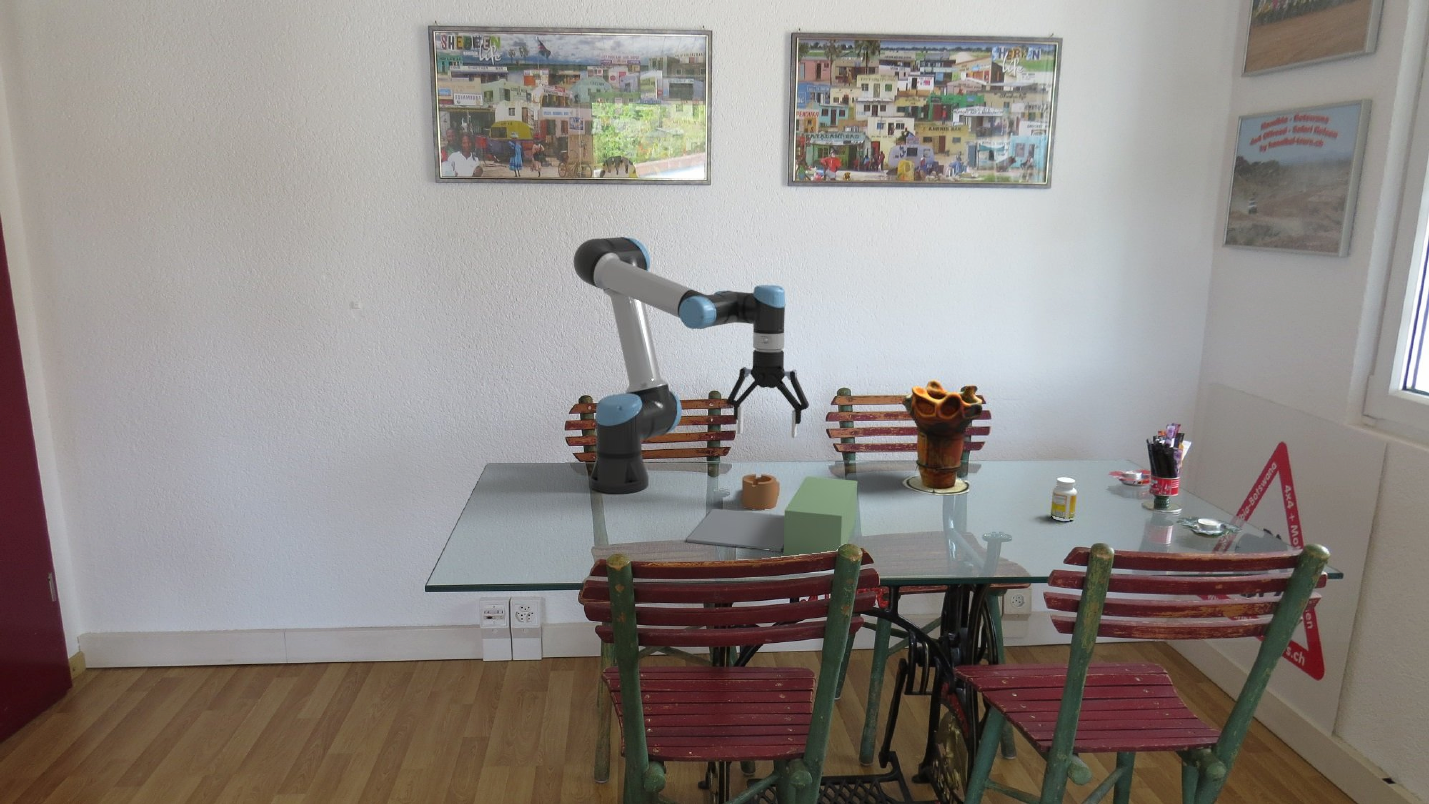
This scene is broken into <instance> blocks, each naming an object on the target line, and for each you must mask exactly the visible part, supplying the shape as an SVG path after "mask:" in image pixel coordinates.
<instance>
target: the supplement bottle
mask: <svg viewBox="0 0 1429 804" xmlns="http://www.w3.org/2000/svg"><path fill="white" fill-rule="evenodd" d="M1075 486H1076V480H1075V479H1073V478H1072V477H1071V478H1070V477H1057V479H1056V486H1054V487H1053V489H1052V498H1051V508H1050V516H1051V515H1052V516H1055V517H1059V518H1063V519H1070V518H1073V517H1074V518H1075V515H1076V514H1075V513H1076V506H1077V505H1076V504H1077V495H1078V491H1077V489H1075Z"/></svg>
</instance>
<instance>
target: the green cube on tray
mask: <svg viewBox="0 0 1429 804" xmlns="http://www.w3.org/2000/svg"><path fill="white" fill-rule="evenodd" d="M857 496H858V480H853V479H851V480H849V479H840V478H839V479H838V478H828V477H815V476H806V477H804V480H803V481H802V483H801V484H800V486H799V488H798V489H797V491H796V492H795V493H794V495H793V496H792V498H791V500H790V502H789V503H788V504H787V506H786V507H785V509H784V515H783V514H772V513H761V512H752V511H751V512H750V511H742V510H741V511H740V510H730V509H721V508H720V509H719V508H713V509H712V510H711V511H710V512H709V513H708V514H707V516H705V518H703V520H702V521H701V522H700V523H699V524H698V526H697V527H696V528H695V529H694V530H693V531H692V533H690V535H689V536H688V537H687V538H686V542H687V543H693V544H702V545H703V544H704V545H712V546H713V545H715V546H722V547H732V546H734V548H736V547H735V546H738V547H737V548H740V547H748V548H747V549H750V548H758V549H757V550H759V549H769V550H772V552H778V551H779V552H778V553H780V552H782V551H783V556H785V557H790V556H789V555H799V554H812V553H821V552H827V551H836V550H837V549H839V546H841V545H842V544H845V543H847V544H848V543H849V540H850V537H851V535H852V533H853V530H854V527H855V526H856V520H857V499H858V498H857ZM732 548H733V547H732ZM769 550H768V551H769Z"/></svg>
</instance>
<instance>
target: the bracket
mask: <svg viewBox="0 0 1429 804" xmlns="http://www.w3.org/2000/svg"><path fill="white" fill-rule="evenodd" d="M741 482H742V483H741V486H742V487H741V490H742V491H741V506H742V507H743V508H744V507H745V508H744V509H747V508H748V509H747V510H750V509H755V510H754V511H766V510H765V509H770V510H772V508H773V509H774V507H775V508H776V506H777V503H778V500H779V497H780V482H779V481H777V477H775V476H774V475H770V474H764V473H761V474H760V477H759V476H758V477H757V474H756V473H753V474H752V473H751V474H747V475H744V476H743V477H742V481H741ZM778 496H779V497H778ZM777 499H778V500H777Z"/></svg>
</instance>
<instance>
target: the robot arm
mask: <svg viewBox="0 0 1429 804" xmlns="http://www.w3.org/2000/svg"><path fill="white" fill-rule="evenodd" d="M650 266H651V260H650V255H649V252H648V250H647V248H646V246H645V245H644V244H643V243H641V242H640V241H639V240H638V239H635V238H632V237H625V236H619V237H606V238H591V239H587V240H585V241H584V242H582V243H581V244H580V245H579V247H577V249H576V251H575V253H574V256H573V268H574V271H575V273H576V275H577V276H578V277H579V278H580V279H581V280H582V282H585V283H586V284H589V285H590V286H593V287H595V288H597V289H600V290H602V291H603V293H604V294H606V295H607V296H608V297H610V301H611V305H612V310H613V315H614V319H615V323H616V328H617V333H618V337H619V342H620V347H621V352H622V355H623V360H624V365H625V369H626V370H625V371H626V374H627V379H628V384H629V385H628V387H627V389H626V390H625V392H623V393H618V394H611V395H608V396H605V397H603V398H601V399H600V400H599V401H598V402H597V404H596V409H595V412H596V413H595V416H594V418H595V436H596V437H595V438H596V439H595V443H596V458H595V462H594V465H593V468H592V472H591V475H590V481H589V483H590V488H591V489H593V491H597V492H600V493H605V494H631V493H636V492H640V491H643V490H645V489H647V488H648V487H649V475H648V472H647V469H646V465H645V463H644V460H643V459H644V458H643V456H642V455H643V453H642V450H643V449H642V448H643V447H642V444H643V443H642V442H643V441H646V440H648V439H652V438H656V437H660V436H664V435H666V434H668V433H671V432H672V431H674V430H675V429H676V428H677V426H678V425H679V423H680V421H681V418H682V413H683V410H682V403H681V400H680V399H679V397H678V396H677V395H676V394H675V392H673V391H671V390H670V388H669V383H668V382H667V381H666V380H664V379H663V378H662V376H661V373H660V368H659V363H658V359H657V354H656V349H655V344H654V341H653V335H652V332H651V331H652V330H651V327H650V323H649V322H650V321H649V318H648V312H647V308H646V305H648V306H650V307H653V308H655V309H658V310H660V311H662V312H665V313H667V314H670V315H671V316H674V317H676V318H678V319H680V321H681V322H682V324H683V325H684V326H685V327H686V328H688V329H691V330H696V329H697V330H703V329H704V330H705V329H708V328H711V327H715V326H722V325H727V324H733V323H738V324H739V323H740V324H749V325H753V326H752V327H753V332H752V335H753V336H752V339H753V340H752V341H753V342H752V347H753V349H754V350H753V351H752V368H747V367H745V366H743V367H741V368H740V370H739V374H738V378H737V380H736V382H735V384H734V386H733V388H732V390H731V392H730V393H729V396H728V397H727V400H726V405H730V406H731V407H733V419H734V420H735V421H737V435H741V434H743V432H744V406H743V405H741V404H742V403H743V402H745V400H746V399H747V398H748V396H750V394H751V393H752V392H753V391H754V390H755V389H756V388H757V387H760V388H761V389H763V388H769V389H775V388H776V389H777V390H778V391H780V393H781V394H782V395H783V396H784V398H785V399H786V400H787V402H788V403H789V404H790V405H791V406H792V408H793V410H792V411H791V438H792V439H794V438H796V437H797V434H798V431H797V427H798V426H797V425H800V424H801V422H802V411H804V410H807V409H808V408H809V407H810V404H809V402H808V399H807V397H806V394H805V393H804V392H805V391H803V388H802V386H801V384H800V382H799V379H798V373H797V370H796V369H792V370H785V368H784V365H785V363H784V360H785V355H784V354H785V352H784V351H783V349H784V348H785V314H786V313H785V312H786V311H785V310H786V294H785V293H786V292H785V288H784V287H783V286H780V285H777V284H776V285H770V284H764V285H763V284H762V285H756V286H755V287H754V289H753V292H742V291H732V290H719V291H715V292H714V294H705V293H703V292H699V291H697V290H694V289H693V288H690V287H687V286H686V285H682V284H680V283H677V282H675V281H672V280H670V279H668V278H665V277H664V276H660V275H658V274H656V273H653V272H650V271H649V269H650ZM750 375H751V377H752V379H753V380H754V381H753V382H752V383H750V385H749V386H748V387H747V388H746V390H744V392H742V394H741V395H739V396H738V398H737V399H736V397H737V395H738V393H739V391H740V389H741V387H742V385H743V384H744V382H745V381H746V378H749V376H750ZM785 377H786V378H787V380H789V381H790V384H791V386H792V388H793V389H794V392H795V394H796V396H797V398H796V397H795V396H794V395H793V394H792V392H791V390H790V389H789V388H788V387H787V386H786V383H785V382H784V381H783V379H784V378H785Z"/></svg>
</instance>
